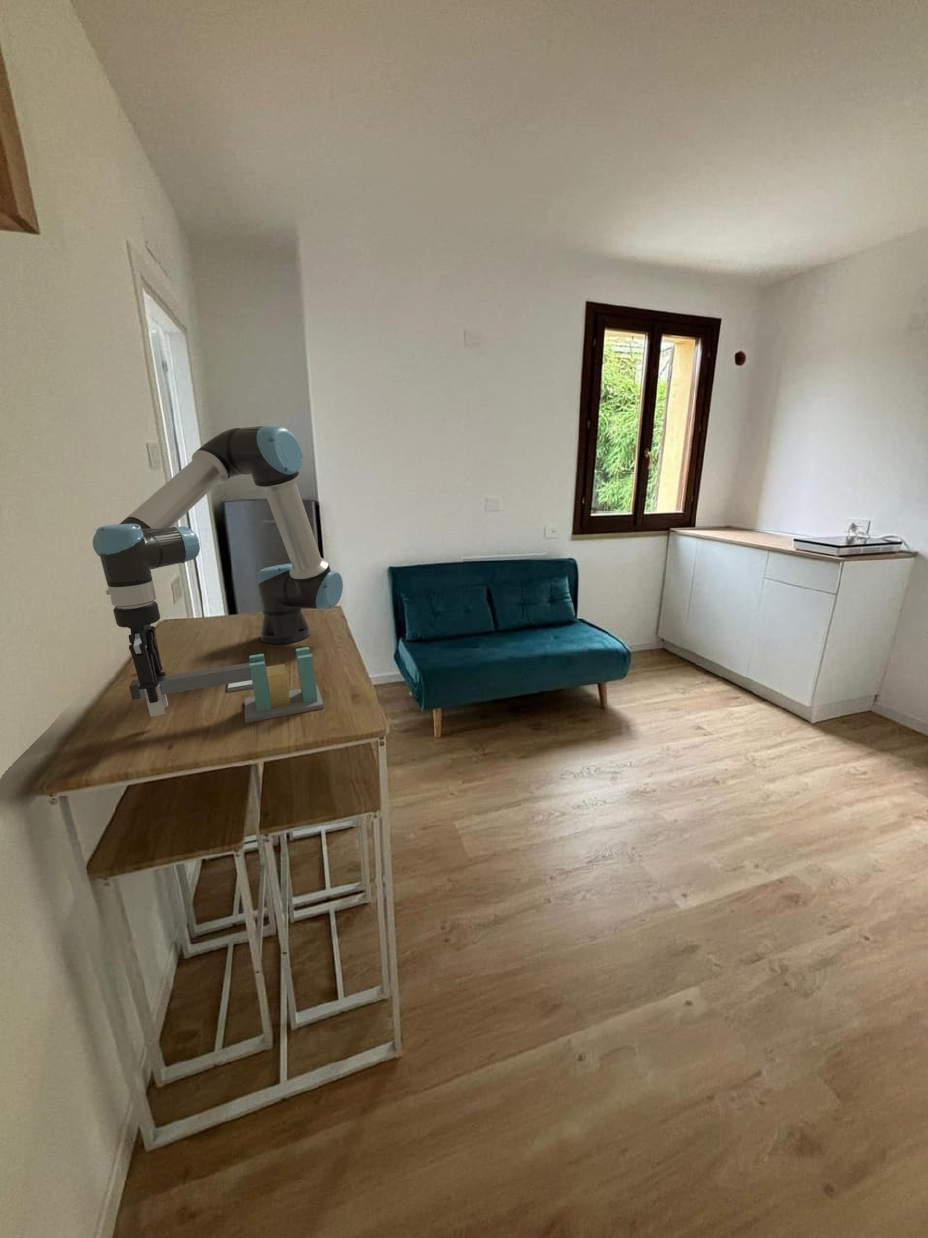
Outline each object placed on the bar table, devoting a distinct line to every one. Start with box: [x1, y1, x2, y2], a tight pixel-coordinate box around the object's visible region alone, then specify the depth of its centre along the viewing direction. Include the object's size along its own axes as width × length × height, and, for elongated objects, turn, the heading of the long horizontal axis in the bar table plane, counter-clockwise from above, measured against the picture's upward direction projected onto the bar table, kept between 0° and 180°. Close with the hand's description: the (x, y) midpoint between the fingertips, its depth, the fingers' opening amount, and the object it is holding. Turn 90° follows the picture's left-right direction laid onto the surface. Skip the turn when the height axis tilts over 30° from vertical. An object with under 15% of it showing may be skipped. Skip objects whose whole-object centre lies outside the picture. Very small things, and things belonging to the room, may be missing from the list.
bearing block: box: [244, 646, 325, 724], centre depth 116 cm, size 11×16×12 cm, turn 112°
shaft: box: [128, 661, 263, 701], centre depth 110 cm, size 3×26×3 cm, turn 112°
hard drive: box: [227, 680, 253, 693], centre depth 133 cm, size 2×8×12 cm
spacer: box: [266, 663, 290, 708], centre depth 116 cm, size 6×4×8 cm, turn 22°
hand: (159, 710), depth 108 cm, fingers closed on shaft, 3 cm apart
